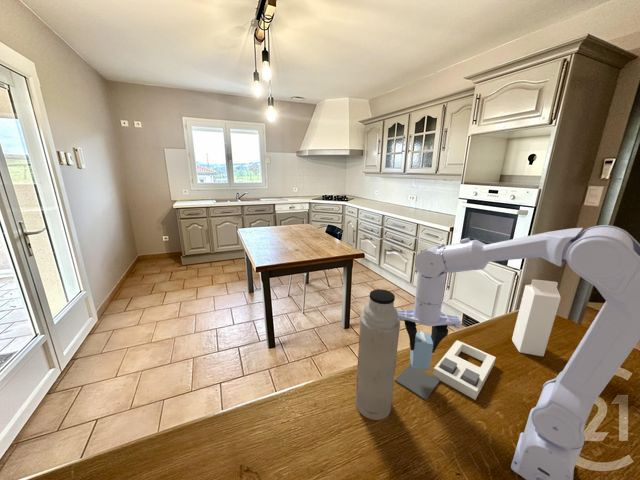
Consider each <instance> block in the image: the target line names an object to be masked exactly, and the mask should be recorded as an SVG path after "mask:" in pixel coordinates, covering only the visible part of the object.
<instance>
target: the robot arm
mask: <svg viewBox="0 0 640 480" xmlns="http://www.w3.org/2000/svg"><path fill="white" fill-rule="evenodd" d="M583 229H584V228H583V227H574V228H572V227H571V228H566V229H559V230H553V231H552V230H551V231H546V232H542V233H541V232H540V233H537V234H532V235H531V234H530V235H527V236H522V237H517V238H512V239H508V240H503V241H498V242H493V243H488V244H486V243H484V242H482V241H480V240H478V239H473V240H471V239H470V237H466V238H462V239H460V240H459V242H457V243H452V244H447V245H446V244H445V243H440V244H438V245H437V246H433V247H430V248H427V249H425V250H423V251H421V252H419V253H417V255H416V256H415V259H414V267H415V269H416V271H417V279H416V287H415V296H414V305H413V308H411V309H401V310H399V309H397V312H398V314H397V315H398V318H399V320H400V322H404V326H405V330H406V333H407V335H408V339H409V348H410V351H411V350H414V346H415V337H416V333H417V332H418V330H417V324H419V325H422V326H425V327H426V326H428V327H431V333H430V335H431V338H432V341H433V350H432V354H434V353H435V351H436V350H437V348H438V346H439V345H440V343H441V342H442V340H443V339H445V338H446V337H447V336H448V335H449V329H448V327H453V328H455V329H461V323H462V320H461V319H460V317H459V316H457V315H456V316H455V315H450V314H447V313H443V312H442V305H443V299H444V293H445V285H446V278H447V274H448V273H450V274H451V273H460V272H461V273H462V272H469V271H471V272H472V271H477V270H484V269H485V268H486V267H487V265H488V264H489V263H491V262H500V261H513V260H522V259H534V258H542V259H544V260H545V261H547V262H549V263H551V264H553V265H555V266H557V267H562V266H563V265H564V264H565V262H567V265H568V266H569V268H570V269H571V270H572V271H573V272H574V273H575V274H577V275H578V276H579V277H581V278H582V279H583V280H584V281H587V283H589V284H591V285H593V286H594V287H595V288H596V290H597V291H598V293H599V294H600V295H601V297H602V298H603V299H604V300H605V302H604V303H603V305H602V307H601V308H600V310H599V311H598V313H597V315H596V316H595V317H594V319H593V321H592V323H591V325H590V326H589V328H588V329H587V331H586V332H585V334H584V335H583V336H582V339H581V341H580V342H579V344H578V345H577V346H576V349H575V350H574V351H573V353H572V355H571V356H570V358H569V360H568V361H567V363H566V364H565V366H564V367H563V370H561V371H560V372H559V373H558V375H557V376H556V377H555V378H553V379H550V380H547V381H545V383H543V385H542V388H541V389H542V390H541V393H540V395H539V399H538V401H537V403H536V406H535V407H532V408H531V409H530V411H529V415H528V418H527V422H526V425H525V429H524V431H523V432H520V434H519V437H518V442H517V445H516V448H515V451H514V455H513V457H512V458H513V459H512V461H511V464H510V469H511V470H512V471H513V472H514V473H516V474H517V475H519V476H521V477H522V478H523V479H525V480H574V474H575V467H576V464H577V461H578V459H579V457H580V454H581V451H582V450H583V448H584V447H583V446H584V443H585V440H586V439H585V438H586V436H585V433H584V432H585V429H586V428H585V427H586V423H587V420H588V418H589V416H590V414H591V413H592V412H591V411H592V410H593V406H594V404H595V402H596V400H597V399H598V398H599V396H600V395H601V393H602V392H603V391H604V389H605V388H606V387H607V385H608V384H609V383H610V381H611V380H612V378H613V377H614V376H615V375H616V373H617V372H618V371H619V369H620V367H621V366H622V365H623V364H624V362H625V360H627V358H628V356H629V355H630V354H631V352H632V351H633V350H634V348H635V347H636V345H637V344H638V343H639V341H640V242H638V241H637V240H636V239H635V238H634V237H633V235H631V234H630V233H629V232H628V231H627V230H625V229H622V228H620V227H618V226H614V225H605V224H603V225H602V224H601V225H595V226H591V227H588V228H586V229H584V230H583ZM582 230H583V231H582Z"/></svg>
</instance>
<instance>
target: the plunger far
mask: <svg viewBox="0 0 640 480" xmlns="http://www.w3.org/2000/svg"><path fill="white" fill-rule="evenodd" d="M456 367H457V363H455V362H453V361H451V360H449V359H447V358H444V360H443V361H442V362H441V364H440V368H441V369H443V370H445V371H447V372H449V373H451V374H454V372H455V371H456Z"/></svg>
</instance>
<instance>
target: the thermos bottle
mask: <svg viewBox="0 0 640 480" xmlns="http://www.w3.org/2000/svg"><path fill="white" fill-rule="evenodd" d="M395 300H396V295H395V294H394V293H393V292H391V290H387V289H379V288H378V289H373V290H372V291H370V292H369V298H368V302H367V303H366V304H365V305H364V309H363V311H362V313H360V316H359V318H360V319H359V333H358V336H359V337H358V349H357V351H358V352H357V368H356V369H357V370H356V372H357V373H356V389H355V390H356V391H355V406H356V409H357V410H358V412H360V415H362V416H364V417H366V418H367V419H370V420H374V421H379V420H383V419H385V418H387V417H388V416H389V415H390V413H391V411H392V404H393V403H392V402H393V393H394V381H395V373H396V365H397V358H398V357H397V356H398V355H397V354H398V345H399V337H400V329H401V328H400V327H401V321H400V320H399V318H398V315H397V314H398V312H397V310H398V309H397V308H396V306H394V304H395Z"/></svg>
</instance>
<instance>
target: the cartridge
mask: <svg viewBox="0 0 640 480" xmlns="http://www.w3.org/2000/svg"><path fill="white" fill-rule="evenodd" d="M432 350H433V341H432V338H431V332H430V333H428V332H424V331H417V333H416V337H415V346H414V350H411V349H410V351H409V360H410V364H411V365H412V368H416V369H421V370H423V371H430V368H431V362H432V356H433V353H432Z"/></svg>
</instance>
